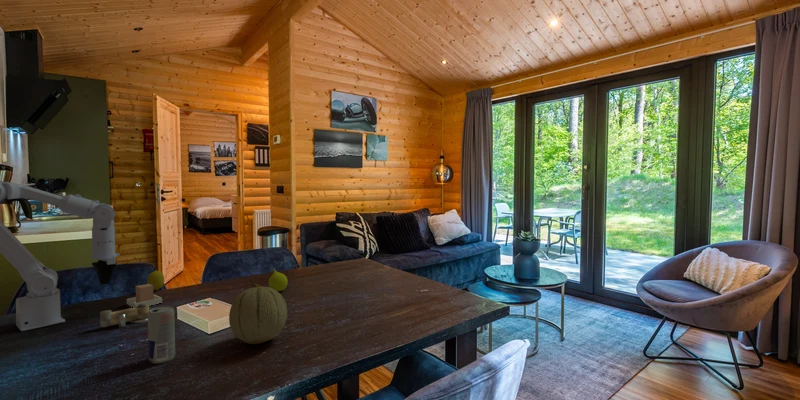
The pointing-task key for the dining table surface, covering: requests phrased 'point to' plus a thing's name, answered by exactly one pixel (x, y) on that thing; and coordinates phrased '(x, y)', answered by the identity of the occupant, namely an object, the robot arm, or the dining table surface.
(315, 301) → the dining table surface
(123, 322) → the crank base
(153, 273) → the lemon
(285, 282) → the green fig
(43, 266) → the robot arm
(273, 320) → the cantaloupe
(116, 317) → the crank arm
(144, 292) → the block
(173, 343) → the energy drink
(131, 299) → the tray
